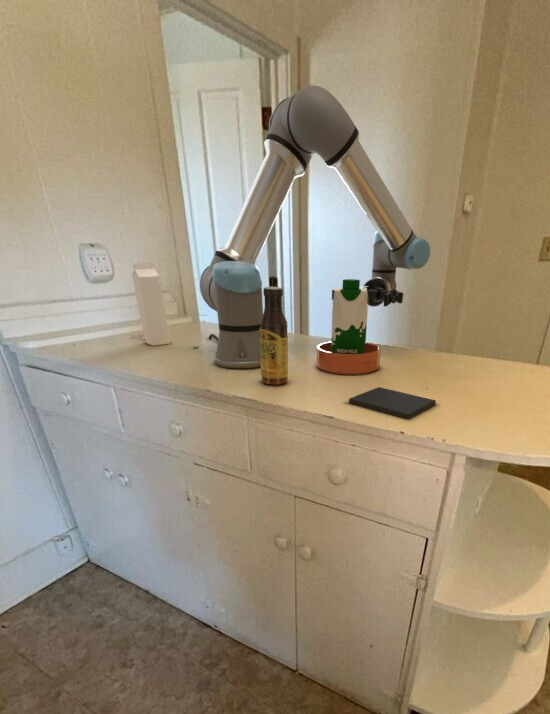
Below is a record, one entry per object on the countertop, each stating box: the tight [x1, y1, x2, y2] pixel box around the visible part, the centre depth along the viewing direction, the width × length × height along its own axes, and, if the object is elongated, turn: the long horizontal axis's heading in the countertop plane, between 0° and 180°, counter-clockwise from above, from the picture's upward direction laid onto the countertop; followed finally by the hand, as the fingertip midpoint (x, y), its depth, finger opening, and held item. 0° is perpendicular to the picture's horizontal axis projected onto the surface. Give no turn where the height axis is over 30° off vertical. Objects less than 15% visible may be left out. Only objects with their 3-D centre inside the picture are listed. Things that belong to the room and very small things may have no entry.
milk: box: [131, 262, 171, 347], centre depth 130 cm, size 6×6×22 cm
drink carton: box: [331, 278, 368, 354], centre depth 107 cm, size 9×9×20 cm
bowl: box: [316, 341, 381, 376], centre depth 111 cm, size 16×16×5 cm
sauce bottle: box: [260, 286, 289, 386], centre depth 95 cm, size 7×6×20 cm
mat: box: [348, 386, 437, 420], centre depth 87 cm, size 14×11×1 cm
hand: (359, 299), depth 112 cm, fingers open, 13 cm apart
